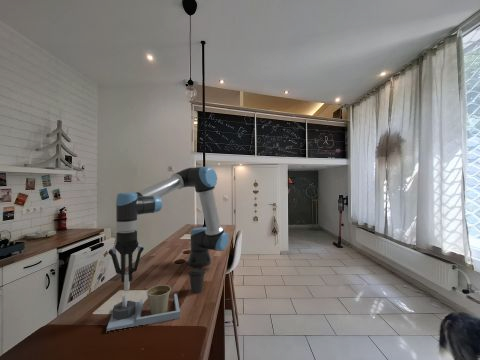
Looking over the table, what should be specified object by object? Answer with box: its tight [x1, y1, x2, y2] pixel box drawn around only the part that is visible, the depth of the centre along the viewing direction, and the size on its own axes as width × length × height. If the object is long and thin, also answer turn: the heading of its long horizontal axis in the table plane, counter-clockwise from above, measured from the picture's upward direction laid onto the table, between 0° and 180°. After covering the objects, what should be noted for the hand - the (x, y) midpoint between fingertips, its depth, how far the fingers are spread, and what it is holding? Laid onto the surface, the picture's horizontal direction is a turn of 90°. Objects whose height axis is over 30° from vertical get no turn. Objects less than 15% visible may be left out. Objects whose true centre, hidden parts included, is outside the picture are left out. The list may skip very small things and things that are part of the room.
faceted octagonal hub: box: [112, 300, 137, 320], centre depth 86 cm, size 8×8×3 cm
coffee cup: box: [188, 268, 206, 294], centre depth 109 cm, size 8×8×10 cm
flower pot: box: [146, 284, 172, 315], centre depth 91 cm, size 9×9×9 cm
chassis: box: [106, 293, 181, 332], centre depth 89 cm, size 25×16×8 cm, turn 110°
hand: (126, 289), depth 90 cm, fingers closed
